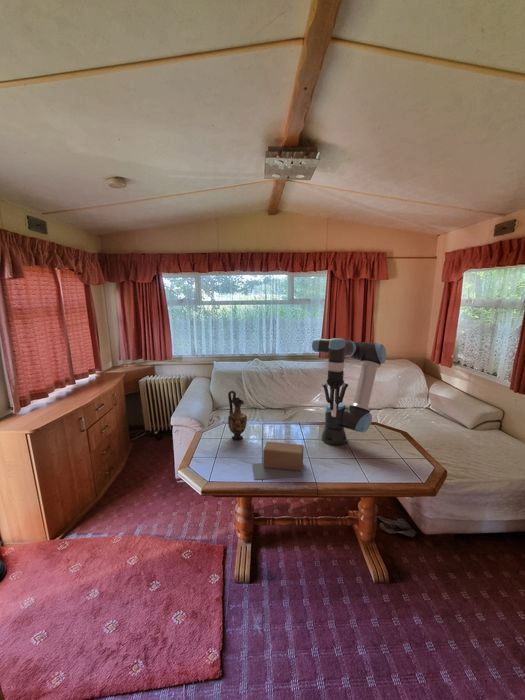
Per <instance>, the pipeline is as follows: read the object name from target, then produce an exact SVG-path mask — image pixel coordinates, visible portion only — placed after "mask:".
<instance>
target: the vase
mask: <svg viewBox="0 0 525 700" xmlns="http://www.w3.org/2000/svg"><path fill="white" fill-rule="evenodd" d="M231 394H232V395H231ZM227 395H228V396H227V397H228V404H229V405H228V406H229V411H228V412H229V414H228V418H227V424H228V429H229V431H230V432H231V433H232V434H233V436H231V440H232V439H233V440H232V441H234V440H235V441H234V442H239V440H240V441H242V440H243V439H244V437H243V436H242V433H244V432H245V430H246V428H247V422H248V416H247V415H246V414H245V413H244V412H241V406H242V405H244V404H245V401H244V400H242V399H241V398H240V397H237V393H236V391H235V390H231V391H229V392H228V394H227ZM233 405H234V408H233ZM233 410H234V411H233Z"/></svg>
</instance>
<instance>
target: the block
mask: <svg viewBox="0 0 525 700" xmlns="http://www.w3.org/2000/svg"><path fill="white" fill-rule="evenodd" d="M262 451H263V454H262V455H263V457H262V459H263V460H262V461H263V462H262V463H263V466H264V467H267V468H276V469H285V470H295V471H301V472H302V471H303V465H304V445H303V444H297V443H288V442H274V441H266V443H265V445H264V448H263V450H262Z"/></svg>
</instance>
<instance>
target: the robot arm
mask: <svg viewBox="0 0 525 700" xmlns="http://www.w3.org/2000/svg"><path fill="white" fill-rule="evenodd" d="M311 342H312V343H311V349H312V351H313V352H315V353H321V354H322V353H323V354H328V363H327V364H328V365H327V369H328V370H327V379H326V381H325V383H322V384H321V386H322V387H323V391H324V395H325V401H326V402H327V404H326V406H325V411H324V413H325V417H324V428H323V430H322V433H321V441H322V442H323V443H326V444H328V445H330V446H342V445H345V444H346V443H347V435H346V430H345V428H346V429H349V430H352V431H354V432H358V433H365V432H367V431H368V430H369V429H370V427H371V424H372V421H373V414H371V413H370V412H371V410H370V408H369V405H370V401H371V395H372V391H373V387H374V382H375V378H376V374H377V370H378V369H379V368H380V367H381V365H382V364H385V362H386V358H387V352H386V351H387V350H386V347H385V345H384V344H382V343H377V342H365V341H364V342H363V341H352V340H351V339H350V340H349V339H347V340H345V339H344V338H342V337H337V338H336V337H334V338H330V339H328V338H327V339H326V338H321V337H319V338H317V337H316V338H314V339H313V341H311ZM345 358H349V359H353V360H355V361H356V360H357V361H359V362H360V364H361V369H360V373H359V377H358V380H357V381H358V382H357V386H356V390H355V394H354V398H353V402H352V403H351V404H349V407H346V404H345V403H343V400H344V398H345V394H346V391H347V389H348V387H349V384H348V383H347V382H345V380H344V376H345V375H344V374H345V373H344V372H345V371H344V369H345ZM328 387H329V388H328ZM329 389H330V391H329ZM329 392H330V393H329Z"/></svg>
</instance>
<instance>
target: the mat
mask: <svg viewBox="0 0 525 700" xmlns="http://www.w3.org/2000/svg"><path fill="white" fill-rule="evenodd" d="M251 465H252V472H253V473H252V474H253V479H254V481H258V480H276V479H279V480H280V479H295V478H297V479H298V478H304V475H303V472H302V471H295V470H285V469H276V468H267V467H264V466H263V462H256V463H255V462H254V463H252V464H251Z"/></svg>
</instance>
